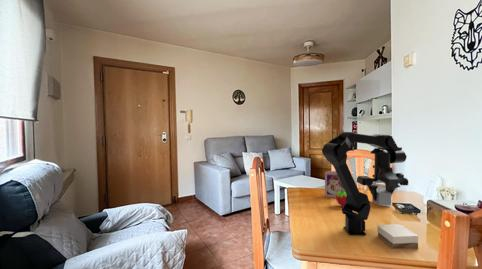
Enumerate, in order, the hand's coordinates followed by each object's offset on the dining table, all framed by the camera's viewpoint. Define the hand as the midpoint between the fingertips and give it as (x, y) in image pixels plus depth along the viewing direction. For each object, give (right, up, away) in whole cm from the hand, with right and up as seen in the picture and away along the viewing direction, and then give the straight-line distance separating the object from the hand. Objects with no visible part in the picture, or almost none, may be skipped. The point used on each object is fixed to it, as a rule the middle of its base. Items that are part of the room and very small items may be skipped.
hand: (381, 200), depth 98 cm
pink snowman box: (-3, -9, +42) cm, 43 cm away
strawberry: (-6, -10, +24) cm, 26 cm away
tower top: (-2, -10, -13) cm, 16 cm away
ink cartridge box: (+16, -10, +26) cm, 33 cm away
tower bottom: (-2, -12, -13) cm, 18 cm away
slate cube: (0, -1, 0) cm, 1 cm away
